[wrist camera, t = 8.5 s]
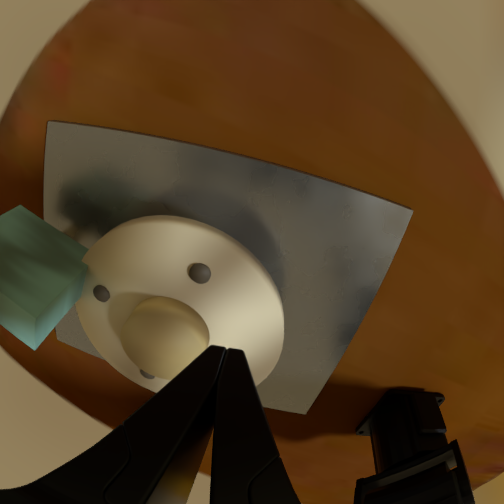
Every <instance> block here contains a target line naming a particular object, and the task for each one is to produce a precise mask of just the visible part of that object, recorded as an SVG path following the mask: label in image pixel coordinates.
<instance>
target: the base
mask: <svg viewBox="0 0 504 504" xmlns="http://www.w3.org/2000/svg"><path fill="white" fill-rule="evenodd" d="M412 213H413V210H412V209H411V208H410V207H407V206H404V205H402V204H399V203H396V202H394V201H391V200H388V199H385V198H383V197H380V196H377V195H374V194H371V193H369V192H366V191H363V190H360V189H357V188H354V187H351V186H348V185H345V184H342V183H339V182H336V181H333V180H329V179H326V178H323V177H320V176H317V175H313V174H310V173H307V172H303V171H300V170H297V169H293V168H290V167H286V166H283V165H279V164H276V163H272V162H268V161H265V160H261V159H257V158H253V157H249V156H246V155H242V154H238V153H234V152H230V151H225V150H221V149H217V148H213V147H208V146H204V145H199V144H195V143H190V142H186V141H181V140H176V139H171V138H166V137H161V136H156V135H150V134H145V133H139V132H134V131H128V130H122V129H116V128H109V127H103V126H96V125H89V124H81V123H74V122H65V121H56V120H52V121H48V125H47V135H46V147H45V162H44V221H45V222H47V223H48V224H50V225H51V226H53V227H55V228H56V229H58V230H59V231H61V232H62V233H64V234H65V235H67V236H69V237H70V238H72V239H73V240H75V241H76V242H78V243H80V244H81V245H83V246H85V247H86V248H88V249H90V248H91V247H92V246H93V245H94V244H95V243H96V242H97V241H98V240H99V239H100V238H102V237H103V236H104V235H105V234H107V233H108V232H109V231H110V230H112V229H113V228H115V227H117V226H118V225H120V224H122V223H125V222H127V221H129V220H132V219H136V218H140V217H144V216H154V215H168V216H179V217H184V218H189V219H193V220H196V221H199V222H202V223H205V224H208V225H210V226H212V227H214V228H216V229H219V230H221V231H223V232H224V233H226V234H228V235H229V236H231V237H232V238H234V239H236V240H237V241H238V242H240V243H241V244H242V245H243V246H245V247H246V248H247V249H248V250H249V251H250V252H251V253H252V254H253V255H254V256H255V257H256V258H257V259H258V260H259V261H260V262H261V263H262V265H263V266H264V267H265V269H266V270H267V271H268V273H269V274H270V276H271V278H272V279H273V281H274V283H275V285H276V287H277V289H278V292H279V295H280V297H281V301H282V306H283V311H284V340H283V347H282V351H281V354H280V357H279V360H278V362H277V364H276V365H275V367H274V369H273V370H272V371H271V373H270V374H269V375H268V376H267V377H266V378H265V379H264V380H263V381H262V382H261V383H260V384H258V385H257V386H256V388H257V391H258V394H259V397H260V400H261V403H262V406H263V407H267V408H272V409H277V410H282V411H288V412H293V413H299V414H306V413H307V411H308V410H309V408H310V407H311V405H312V404H313V402H314V401H315V399H316V398H317V396H318V395H319V393H320V391H321V390H322V388H323V387H324V385H325V384H326V382H327V380H328V379H329V377H330V375H331V374H332V372H333V371H334V369H335V367H336V366H337V364H338V362H339V361H340V359H341V357H342V355H343V354H344V352H345V350H346V349H347V347H348V345H349V343H350V342H351V340H352V338H353V336H354V334H355V333H356V331H357V329H358V327H359V325H360V324H361V322H362V320H363V318H364V316H365V314H366V312H367V310H368V309H369V307H370V305H371V303H372V301H373V299H374V297H375V295H376V293H377V291H378V289H379V287H380V285H381V283H382V281H383V279H384V277H385V275H386V272H387V270H388V268H389V266H390V264H391V262H392V260H393V257H394V255H395V253H396V251H397V249H398V246H399V244H400V242H401V240H402V237H403V235H404V233H405V230H406V228H407V225H408V223H409V221H410V218H411V216H412ZM55 329H56V335H57V340H59V341H62V342H64V343H66V344H68V345H70V346H73V347H75V348H77V349H80V350H82V351H84V352H87V353H89V354H91V355H94V356H96V357H99V358H101V359H104V358H103V357H102V356H101V354H100V353H99V352H98V351H97V350H96V348H95V347H94V346H93V344H92V343H91V341H90V340H89V338H88V336H87V335H86V333H85V331H84V329H83V327H82V324H81V322H80V320H79V317H78V313H77V310H76V305H75V304H74V305H73V306H72V307H71V309H70V310H69V311H68V312H67V313H66V314H65V315H64V317H63V318H62V319H61V320H60V321H59V322H58V323H57V325H56V326H55ZM104 360H105V359H104Z"/></svg>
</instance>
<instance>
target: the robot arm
mask: <svg viewBox="0 0 504 504" xmlns="http://www.w3.org/2000/svg"><path fill="white" fill-rule="evenodd" d="M444 400H445V397H444V395H443V394H434V393H422V392H411V391H402V390H389V391H388V392H387V393H386V394H385V395H384V396H383V397H382V399H381V400H380V401H379V402H378V404H377V405H376V406H375V407H374V408H373V410H372V411H371V412H370V413H369V414H368V416H367V417H366V418H365V419H364V420H363V421H362V423H361V424H360V425H359V426H358V427H357V428H356V434H357V435H363V436H370V437H371V444H372V450H373V457H374V464H375V471H376V475H373V476H370V477H367V478H360V479H357V481H356V488H355V495H354V504H475V501H474V496H473V492H472V488H471V484H470V480H469V476H468V473H467V469H466V466H465V463H464V459H463V456H462V453H461V450H460V448H459V445H458V442H457V439H455V440H453V441H451V442H450V444H448V442H447V439H446V436H445V433H446V431H447V430H446V426H445V423H444V420H443V417H442V414H441V411H440V409H439V406H440V405H441V404H442V403H443V402H444ZM213 428H214V431H213ZM212 431H213V448H212V465H211V484H210V504H301V503H300V501H299V499H298V497H297V495H296V493H295V491H294V489H293V487H292V484H291V482H290V480H289V477H288V475H287V473H286V470H285V467H284V465H283V462H282V459H281V458H280V457H279V456H280V454H279V451H278V449H277V446H276V443H275V440H274V437H273V435H272V432H271V429H270V426H269V423H268V420H267V417H266V415H265V412H264V409H263V406H262V403H261V400H260V397H259V394H258V391H257V388H256V385H255V382H254V379H253V376H252V373H251V370H250V367H249V364H248V361H247V358H246V355H245V352H244V351H243V350H242V349H236V348H228V349H226V347H224V346H218V345H210V346H209V347H207V348H206V349H205V350H204V351H203V352H202V353H201V354H200V355H199V356H198V357H196V358H195V359H194V360H193V361H192V362H191V363H190V364H189V365H188V366H186V367H185V368H184V369H183V370H182V371H181V372H180V373H179V374H178V375H176V376H175V377H174V378H173V379H172V380H171V381H170V382H169V383H167V384H166V385H165V386H164V387H163V388H162V389H161V390H159V391H158V392H157V393H156V394H155V395H154V396H153V397H151V398H150V399H149V400H148V401H147V402H146V403H145V404H143V405H142V406H141V407H140V408H139V409H138V410H136V411H135V412H134V413H133V414H132V415H131V416H129V417H128V418H127V419H126V420H125V421H124V422H123V425H122V424H120V425H119V426H117V427H116V428H115V429H114V430H113V431H112V432H110V433H109V434H108V435H107V436H105V437H104V438H103V439H101V440H100V441H99V442H98V443H96V444H95V445H94V446H92V447H91V448H89V449H88V450H86V451H84V452H83V453H81V454H80V455H78V456H77V457H75V458H74V459H72V460H70V461H69V462H67V463H65V464H64V465H62V466H60V467H59V468H57V469H55V470H53V471H52V472H50V473H48V474H46V475H45V476H43V477H41V478H39V479H38V480H36V481H34V482H32V483H29V484H27V485H24V486H21V487H17V488H12V489H0V504H186V502H187V500H188V497H189V494H190V492H191V489H192V486H193V484H194V480H195V478H196V475H197V473H198V470H199V467H200V464H201V462H202V459H203V456H204V453H205V451H206V448H207V445H208V442H209V439H210V437H211V434H212ZM456 465H457V467H456V468H454V469H452V470H450V468H452V467H454V466H456Z"/></svg>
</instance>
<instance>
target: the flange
mask: <svg viewBox="0 0 504 504" xmlns="http://www.w3.org/2000/svg"><path fill="white" fill-rule="evenodd" d="M74 304H75V305H76V310H77V313H78V317H79V320H80V322H81V324H82V327H83V329H84V331H85V333H86V335H87V336H88V338H89V340H90V341H91V343H92V344H93V346H94V347H95V348H96V350H97V351H98V352H99V353H100V354H101V356H102V357H103V358H104V359H105V360H106V361H107V362H108V363H109V364H110V365H111V366H113V367H114V368H115V369H116V370H117V371H119V372H120V373H121V374H123V375H124V376H125V377H127V378H128V379H130V380H131V381H133V382H135V383H137V384H138V385H140V386H142V387H144V388H147V389H149V390H151V391H153V392H156V393H157V392H158V391H159V390H161V389H162V388H163V387H164V386H165V385H166V384H167V383H169V382H170V381H171V380H172V379H173V378H174V377H175V376H176V375H178V374H179V373H180V372H181V371H182V370H183V369H184V368H185V367H186V366H188V365H189V364H190V363H191V362H192V361H193V360H194V359H195V358H196V357H198V356H199V355H200V354H201V353H202V352H203V351H204V350H205V349H206V348H207V347H209V346H210V345H218V346H224V347H226V349H228V348H236V349H242V350H243V351H244V352H245V355H246V358H247V361H248V364H249V367H250V370H251V373H252V376H253V379H254V382H255V385H256V386H257V385H258V384H260V383H261V382H262V381H263V380H264V379H265V378H266V377H267V376H268V375H269V374H270V373H271V371H272V370H273V369H274V367H275V365H276V364H277V362H278V360H279V357H280V354H281V351H282V347H283V340H284V311H283V306H282V301H281V297H280V295H279V292H278V289H277V287H276V285H275V283H274V281H273V279H272V278H271V276H270V274H269V273H268V271H267V270H266V269H265V267H264V266H263V265H262V263H261V262H260V261H259V260H258V259H257V258H256V257H255V256H254V255H253V254H252V253H251V252H250V251H249V250H248V249H247V248H246V247H245V246H243V245H242V244H241V243H240V242H238V241H237V240H236V239H234V238H232V237H231V236H229V235H228V234H226V233H224V232H223V231H221V230H219V229H216V228H214V227H212V226H210V225H208V224H205V223H202V222H199V221H196V220H193V219H189V218H184V217H179V216H168V215H154V216H144V217H140V218H136V219H132V220H129V221H127V222H125V223H122V224H120V225H118V226H117V227H115V228H113V229H112V230H110V231H109V232H108V233H107V234H105V235H104V236H103V237H102V238H100V239H99V240H98V241H97V242H96V243H95V244H94V245H93V246H92V247H91V248H90V249H88V248H86V247H85V246H83V245H81V244H80V243H78V242H76V241H75V240H73V239H72V238H70V237H69V236H67V235H65V234H64V233H62V232H61V231H59V230H58V229H56V228H55V227H53V226H51V225H50V224H48V223H47V222H45V221H44V220H42V219H41V218H39V217H38V216H36V215H35V214H33V213H32V212H30V211H29V210H27V209H26V208H25V207H23V206H22V205H19V206H17V207H15V208H13V209H11V210H10V211H8V212H6V213H4V214H2V215H1V216H0V324H1V325H2V326H3V327H4V328H6V329H7V330H8V331H9V332H11V333H12V334H13V335H15V336H16V337H17V338H18V339H20V340H21V341H22V342H24V343H25V344H26V345H28V346H29V347H30V348H32V349H33V350H36V349H37V347H38V346H39V345H40V344H41V343H42V341H43V340H44V339H45V338H46V337H47V335H48V334H49V333H50V332H51V331H52V329H53V328H54V327H55V326H56V325H57V323H58V322H59V321H60V320H61V319H62V318H63V317H64V315H65V314H66V313H67V312H68V311H69V310H70V309H71V307H72V306H73V305H74Z"/></svg>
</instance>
